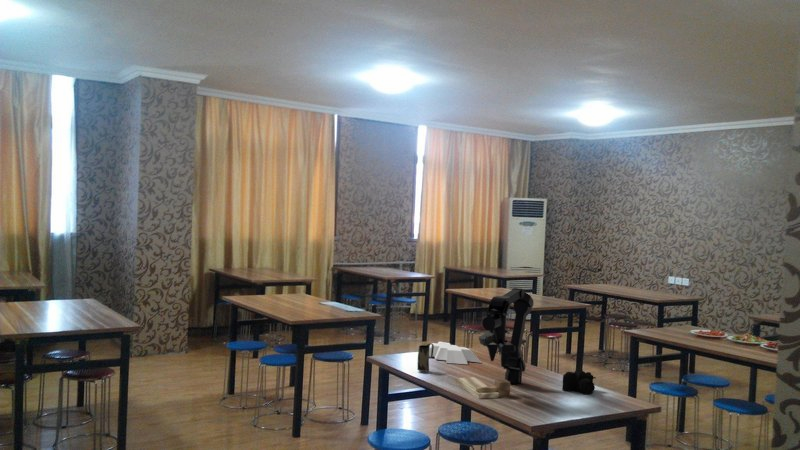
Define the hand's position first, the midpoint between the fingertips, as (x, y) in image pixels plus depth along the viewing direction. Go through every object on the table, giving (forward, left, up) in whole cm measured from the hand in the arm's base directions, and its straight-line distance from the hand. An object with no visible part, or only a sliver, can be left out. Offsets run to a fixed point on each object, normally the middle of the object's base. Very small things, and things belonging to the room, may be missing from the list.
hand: (497, 363), depth 267 cm
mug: (+18, -38, -12) cm, 44 cm away
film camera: (-37, +6, -12) cm, 40 cm away
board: (+8, -3, -12) cm, 14 cm away
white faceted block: (-4, -63, -13) cm, 64 cm away
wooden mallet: (0, +6, -12) cm, 13 cm away
